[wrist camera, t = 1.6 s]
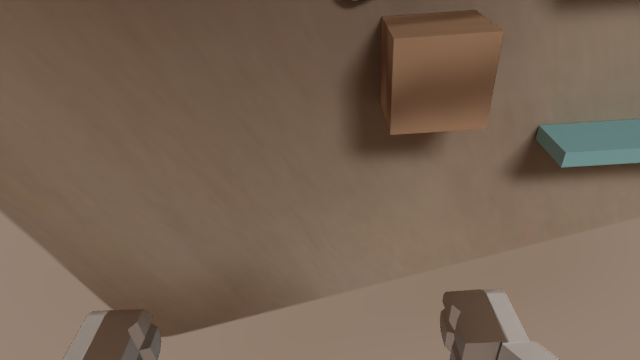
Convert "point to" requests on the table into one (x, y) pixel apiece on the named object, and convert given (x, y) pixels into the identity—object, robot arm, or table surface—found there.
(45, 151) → the table surface
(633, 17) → the table surface
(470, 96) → the walnut block
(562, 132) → the box
